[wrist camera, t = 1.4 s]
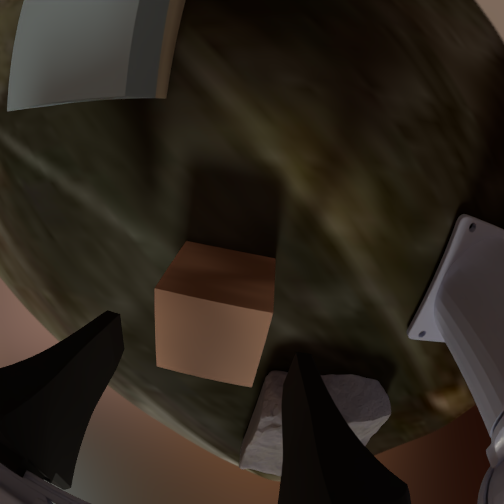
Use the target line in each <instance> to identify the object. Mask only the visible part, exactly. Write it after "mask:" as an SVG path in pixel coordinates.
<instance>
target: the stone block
mask: <svg viewBox="0 0 504 504" xmlns="http://www.w3.org/2000/svg"><path fill="white" fill-rule="evenodd" d="M287 373H288V372H283V371H277V370H276V371H271V372H269V374H268V375H267V376H266V377H265V381H264V383H263V386H262V389H261V392H260V395H259V398H258V401H257V404H256V407H255V409H254V412H253V415H252V418H251V420H250V423H249V426H248V429H247V432H246V434H245V437H244V439H243V442H242V446H241V451H240V454H241V455H240V463H239V468H241V469H247V468H249V469H254V470H257V471H260V472H264V473H271V474H275V475H278V476H281V473H282V462H283V440H282V411H281V404H282V392H283V383H284V381H285V378H286V376H287ZM321 377H322V379H323V381H324V383H325V386H326V388H327V389H328V391H329V393H330V395H331V397H332V399H333V401H334V403H335V404H336V406H337V408H338V409H339V411H340V413H341V414H342V416H343V418H344V419H345V421H346V422H347V424H348V425H349V426H350V428H351V429H352V431H353V432H354V433H355V435H356V436H357V437H358V438H359V440H360V441H361V442H362V443H363V445H364V446H365V445H366V444H367V442H368V441H369V439H370V437H371V436H372V435H373V434H375V433H376V432H377V430H378V429H379V428H380V426H381V425H383V424H384V423H385V421H386V420H387V419H388V417H389V416H390V414H391V413H390V412H391V407H390V401H389V396H388V395H387V393H385V390H384V388H383V387H382V386H381V385H380V383H379V381H377V380H374V379H369V378H365V377H361V376H358V375H353V374H349V375H334V374H330V375H324V376H323V375H321Z"/></svg>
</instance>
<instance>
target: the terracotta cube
mask: <svg viewBox="0 0 504 504" xmlns="http://www.w3.org/2000/svg"><path fill="white" fill-rule="evenodd" d="M274 283H275V258H270V257H265V256H260V255H255V254H250V253H245V252H240V251H235V250H230V249H225V248H220V247H214V246H209V245H204V244H199V243H194V242H189V241H186V242H185V244H184V245H183V246H182V248H181V249H180V251H179V252H178V254H177V255H176V257H175V258H174V260H173V261H172V263H171V264H170V266H169V267H168V269H167V270H166V272H165V273H164V275H163V276H162V278H161V279H160V281H159V282H158V284H157V285H156V287H155V337H156V359H157V366H158V367H162V368H165V369H169V370H173V371H177V372H181V373H185V374H189V375H193V376H197V377H202V378H206V379H211V380H216V381H220V382H225V383H231V384H236V385H241V386H247V387H252V385H253V381H254V378H255V375H256V371H257V368H258V365H259V361H260V358H261V354H262V351H263V347H264V344H265V340H266V337H267V333H268V330H269V326H270V323H271V319H272V315H273V306H274Z"/></svg>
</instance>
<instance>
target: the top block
mask: <svg viewBox="0 0 504 504" xmlns="http://www.w3.org/2000/svg"><path fill="white" fill-rule="evenodd" d="M169 1H170V0H24V3H23V6H22V10H21V14H20V18H19V23H18V27H17V32H16V37H15V43H14V48H13V55H12V62H11V69H10V78H9V89H8V105H7V111H13V110H20V109H28V108H36V107H45V106H51V105H59V104H66V103H75V102H85V101H96V100H110V99H131V98H155V96H156V87H157V78H158V69H159V61H160V54H161V47H162V40H163V34H164V28H165V22H166V16H167V11H168V6H169Z"/></svg>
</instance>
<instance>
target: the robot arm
mask: <svg viewBox="0 0 504 504" xmlns="http://www.w3.org/2000/svg"><path fill="white" fill-rule="evenodd" d="M472 223H473V225H472V227H471V229H469V226H470V225H471V224H472ZM421 331H422V332H421ZM420 332H421V333H420ZM407 335H408V337H409V338H410V339H415V340H426V341H437V342H446V344H447V346H448V348H449V350H450V352H451V353H452V355H453V357H454V359H455V361H456V363H457V365H458V367H459V369H460V371H461V373H462V375H463V377H464V379H465V381H466V383H467V385H468V387H469V389H470V391H471V393H472V395H473V398H474V400H475V402H476V404H477V406H478V409H479V411H480V413H481V416H482V418H483V420H484V423H485V425H486V427H487V430H488V432H489V435H490V437H491V438H492V443H491V445H490V446H489V447H488V448H487V449H486V453H487V456H488V459H489V462H490V465H491V466H490V468H489V469H488V471H487V473H486V474H485V476H484V479H483V481H482V484H481V488H480V491H479V497H478V504H504V229H502V228H499V227H497V226H495V225H492V224H490V223H487V222H485V221H482V220H480V219H477V218H475V217H472V216H470V215H467V214H462V215H460V216H459V217H458V219H457V221H456V224H455V227H454V229H453V232H452V235H451V237H450V240H449V242H448V245H447V247H446V250H445V252H444V255H443V257H442V259H441V262H440V264H439V266H438V269H437V271H436V273H435V275H434V278H433V280H432V282H431V284H430V286H429V288H428V290H427V292H426V294H425V297H424V299H423V301H422V303H421V305H420V306H419V308H418V310H417V312H416V314H415V316H414V318H413V320H412V322H411V324H410V325H409V327H408V329H407ZM123 351H124V343H123V335H122V327H121V318H120V314H118V313H114V312H111V311H106V312H104V313H103V314H101V315H100V316H98V317H97V318H95V319H94V320H92V321H91V322H90V323H88V324H87V325H85V326H84V327H82V328H81V329H79V330H78V331H76V332H75V333H73V334H72V335H70V336H69V337H67V338H65V339H64V340H62V341H60V342H59V343H57V344H56V345H54V346H52V347H51V348H49V349H47V350H45V351H43V352H41V353H39V354H37V355H35V356H33V357H30V358H28V359H26V360H23V361H20V362H18V363H15V364H13V365H9V366H6V367H3V368H0V504H53V503H52V502H54V503H56V504H90V503H88V502H85V501H84V500H81V499H79V498H77V497H75V496H73V495H71V494H69V493H67V492H65V491H63V490H61V489H59V488H57V487H55V486H53V485H52V484H54V485H56V486H58V487H60V488H62V489H69V488H71V485H72V479H73V473H74V469H75V464H76V460H77V457H78V453H79V450H80V446H81V443H82V440H83V437H84V434H85V431H86V428H87V426H88V423H89V420H90V418H91V415H92V413H93V411H94V409H95V407H96V405H97V403H98V401H99V399H100V397H101V396H102V394H103V392H104V390H105V388H106V387H107V385H108V383H109V381H110V379H111V378H112V376H113V374H114V372H115V370H116V368H117V366H118V364H119V361H120V359H121V356H122V354H123ZM281 411H282V440H283V462H282V473H281V482H280V491H279V499H278V504H411V500H410V493H409V489H408V486H407V484H406V483H405V482H403V481H402V480H401V479H399V478H398V477H397V476H395V475H394V474H393V473H392V472H390V471H389V470H388V469H387V468H386V467H385V466H384V465H383V464H381V463H380V462H379V461H378V460H377V459H376V458H375V457H374V455H373V454H372V453H371V452H370V451H369V450H368V449H367V448H366V447H365V446H364V445H363V443H362V442H361V441H360V440H359V438H358V437H357V436H356V435H355V433H354V432H353V431H352V429H351V428H350V426H349V425H348V424H347V422H346V421H345V419H344V418H343V416H342V414H341V413H340V411H339V409H338V408H337V406H336V404H335V403H334V401H333V399H332V397H331V395H330V393H329V391H328V389H327V388H326V386H325V383H324V381H323V379H322V377H321V375H320V373H319V371H318V368H317V366H316V364H315V361H314V359H313V357H312V355H311V354H306V353H299V352H296V353H295V356H294V358H293V361H292V363H291V366H290V368H289V371H288V373H287V376H286V378H285V381H284V383H283V392H282V404H281ZM44 480H46V481H48V482H49V483H48V482H46V481H44ZM50 483H52V484H50Z"/></svg>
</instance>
